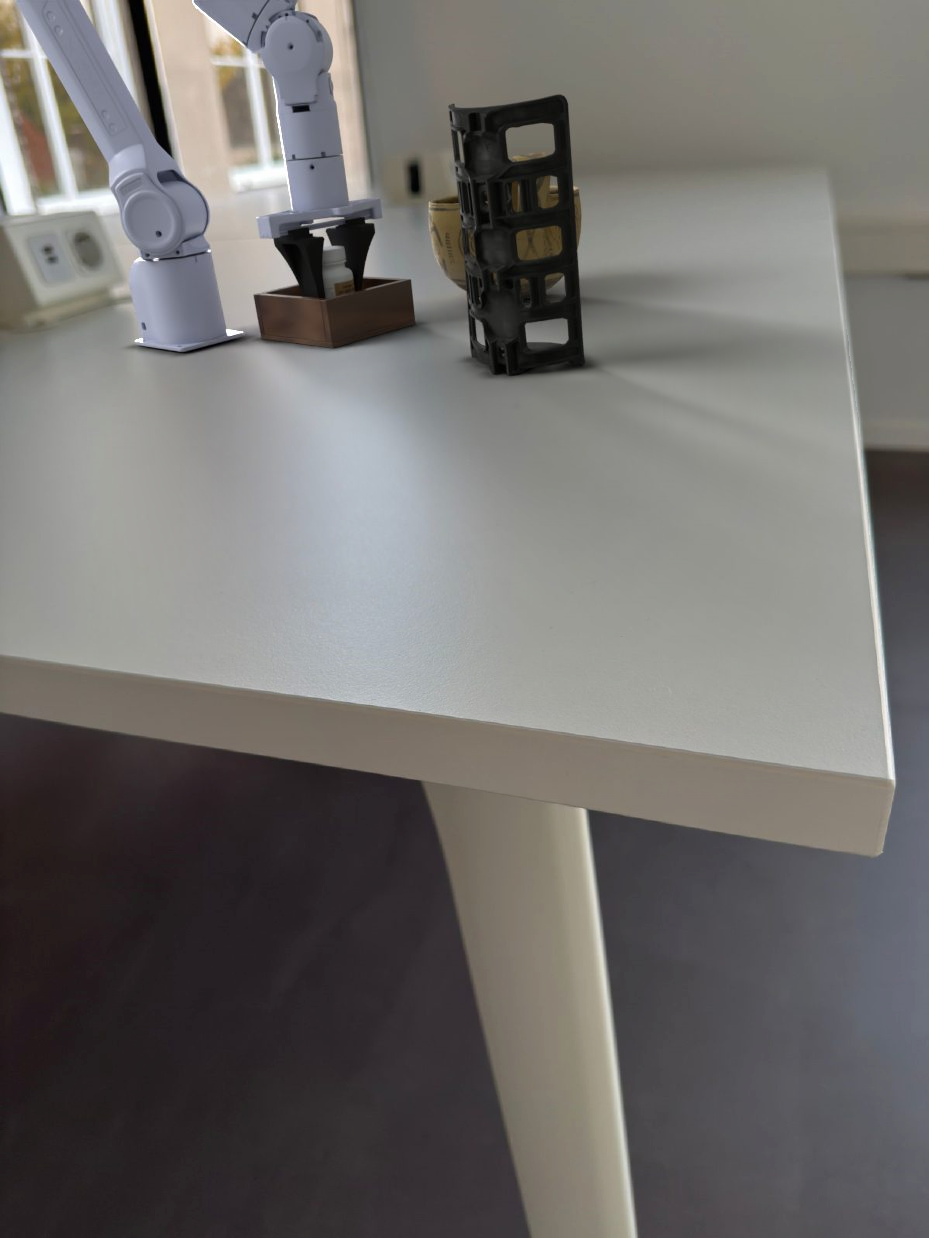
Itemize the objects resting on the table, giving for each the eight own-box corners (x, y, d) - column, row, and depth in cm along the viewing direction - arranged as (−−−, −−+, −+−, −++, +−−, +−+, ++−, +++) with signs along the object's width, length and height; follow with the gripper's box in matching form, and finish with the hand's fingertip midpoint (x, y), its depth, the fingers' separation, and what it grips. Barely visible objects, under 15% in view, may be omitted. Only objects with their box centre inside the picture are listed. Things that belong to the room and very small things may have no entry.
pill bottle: (352, 330, 96) (341, 250, 93) (311, 331, 97) (299, 252, 94) (364, 321, 100) (354, 243, 96) (325, 322, 101) (314, 246, 97)
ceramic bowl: (613, 302, 100) (612, 145, 93) (459, 323, 97) (445, 163, 90) (550, 275, 119) (545, 143, 112) (419, 291, 117) (405, 157, 110)
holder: (602, 350, 80) (586, 85, 69) (573, 382, 75) (551, 100, 64) (484, 350, 85) (452, 101, 74) (449, 380, 79) (408, 116, 68)
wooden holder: (260, 338, 99) (252, 294, 97) (343, 316, 106) (337, 274, 104) (332, 348, 92) (325, 300, 90) (415, 323, 99) (411, 279, 97)
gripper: (280, 164, 84) (305, 319, 91) (395, 149, 93) (410, 292, 100) (233, 166, 89) (260, 315, 95) (348, 152, 98) (366, 288, 104)
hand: (334, 303), depth 98 cm, fingers closed on pill bottle, 4 cm apart
